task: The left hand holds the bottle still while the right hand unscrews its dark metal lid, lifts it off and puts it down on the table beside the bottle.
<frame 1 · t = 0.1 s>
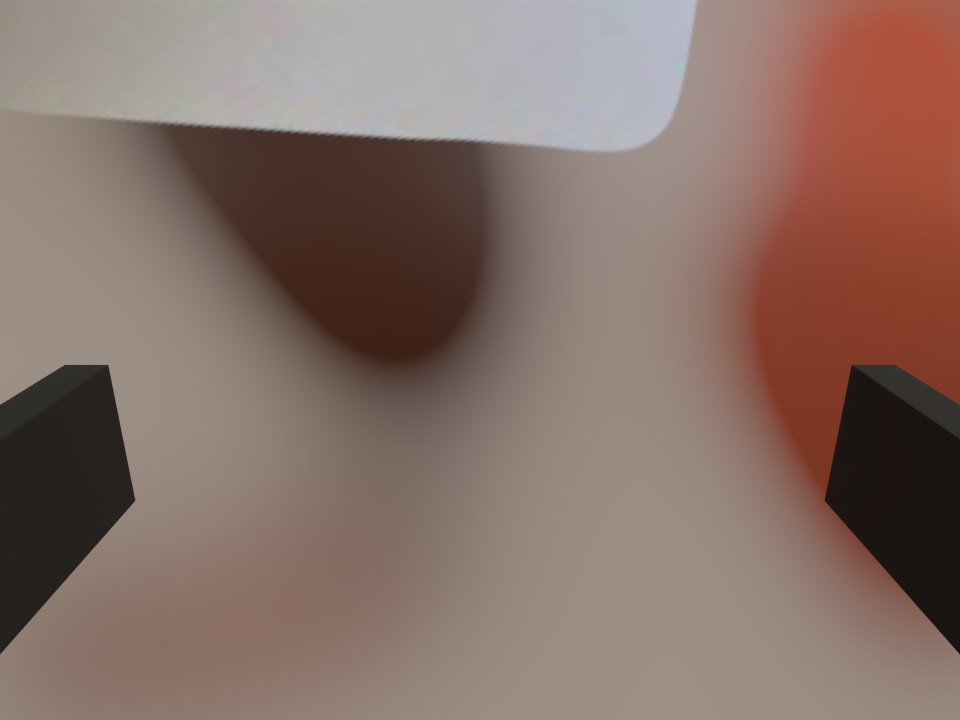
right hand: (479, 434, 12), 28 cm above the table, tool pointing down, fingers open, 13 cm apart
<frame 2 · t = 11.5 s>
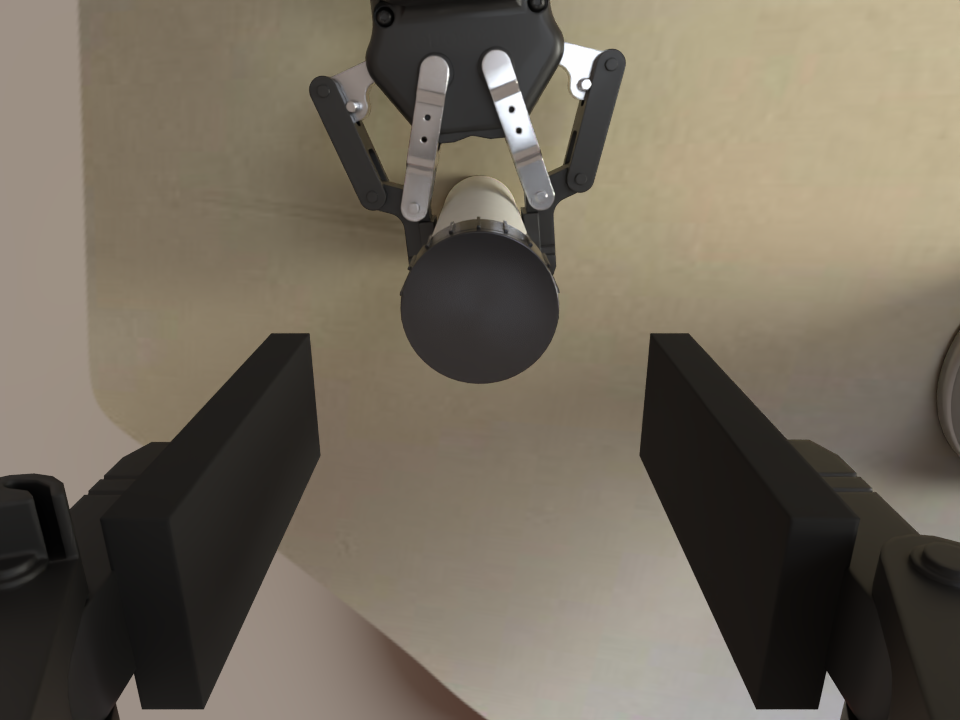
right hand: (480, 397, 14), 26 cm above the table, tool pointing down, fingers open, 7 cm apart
left hand: (485, 289, 33), fingers closed on bottle, 4 cm apart
lid: (479, 307, 20), point 19 cm above the table, screwed on, not yet turned
bottle: (480, 213, 38), on the table, touching left hand
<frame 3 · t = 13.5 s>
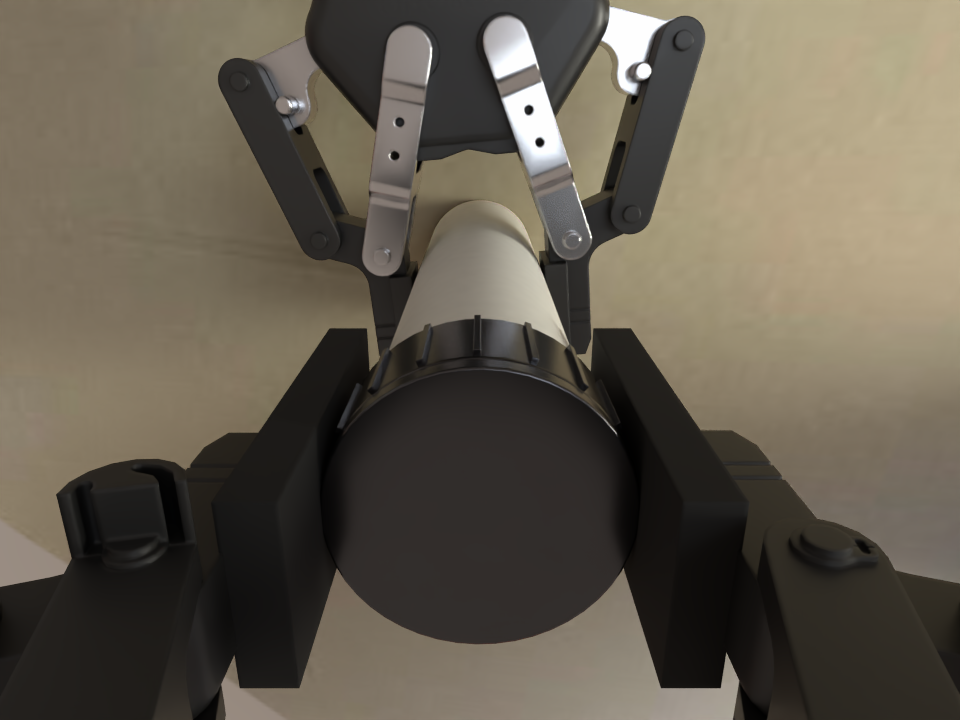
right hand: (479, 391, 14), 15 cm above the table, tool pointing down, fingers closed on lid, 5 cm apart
left hand: (488, 368, 23), fingers closed on bottle, 4 cm apart
lid: (480, 504, 10), point 19 cm above the table, screwed on, not yet turned, touching right hand
bottle: (480, 250, 28), on the table, touching left hand
when the right hand's fingers open (15 cm above the table, at t = 14.9 s): lid stays where it is, point 20 cm above the table.
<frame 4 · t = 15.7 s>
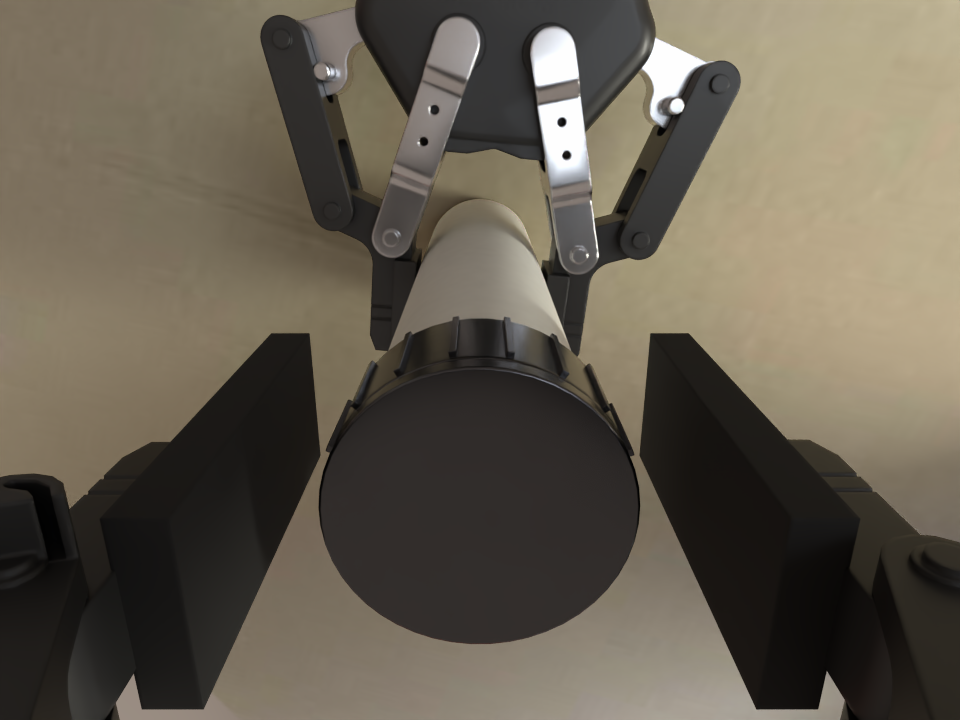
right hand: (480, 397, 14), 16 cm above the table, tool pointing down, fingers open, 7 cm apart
left hand: (473, 365, 23), fingers closed on bottle, 4 cm apart
lid: (479, 504, 10), point 20 cm above the table, turned 98° so far, risen 0.3 cm, still on its thread
bottle: (480, 248, 29), on the table, touching left hand
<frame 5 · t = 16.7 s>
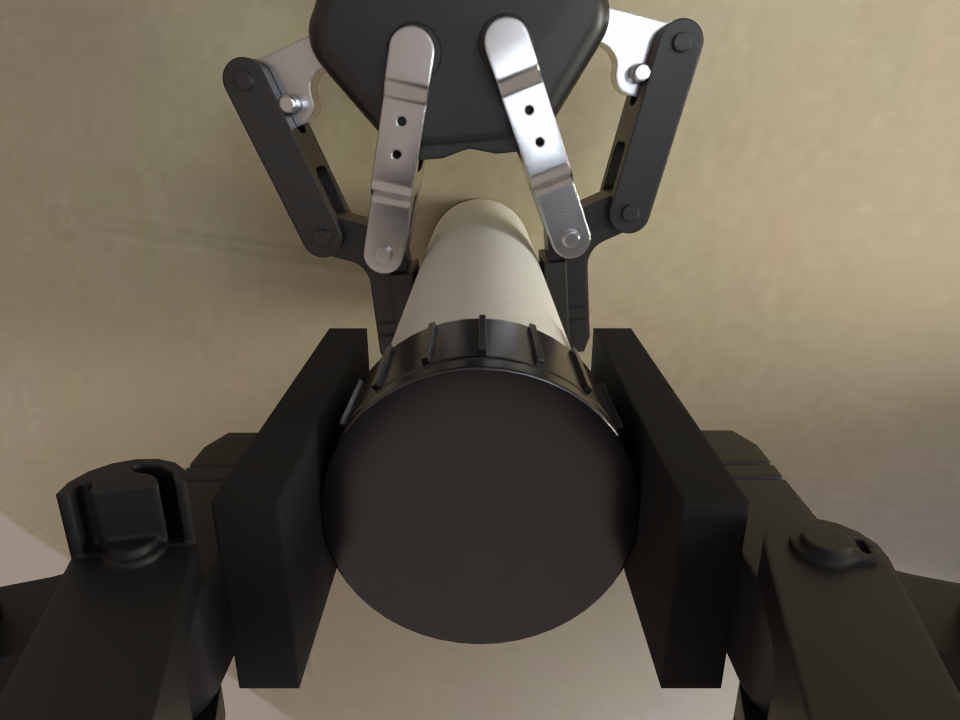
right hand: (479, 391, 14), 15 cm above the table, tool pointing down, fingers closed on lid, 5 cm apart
left hand: (487, 365, 23), fingers closed on bottle, 4 cm apart
lid: (480, 504, 10), point 20 cm above the table, turned 98° so far, risen 0.3 cm, still on its thread, touching right hand
bottle: (480, 248, 29), on the table, touching left hand
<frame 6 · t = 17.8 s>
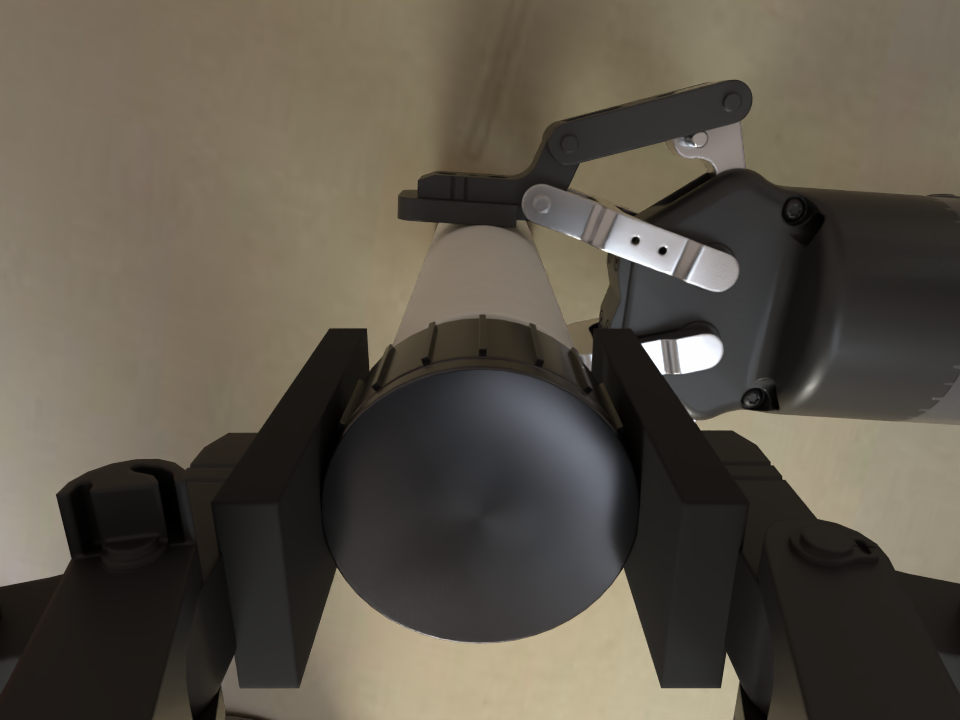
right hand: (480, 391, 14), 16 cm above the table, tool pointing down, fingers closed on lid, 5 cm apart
left hand: (400, 277, 23), fingers closed on bottle, 4 cm apart
lid: (480, 503, 10), point 20 cm above the table, off its thread, touching right hand
bottle: (482, 244, 29), on the table, touching left hand
when the right hand's fingers open (0 cm above the table, at t = 23.9 s): lid drops 3 cm, point 2 cm above the table.
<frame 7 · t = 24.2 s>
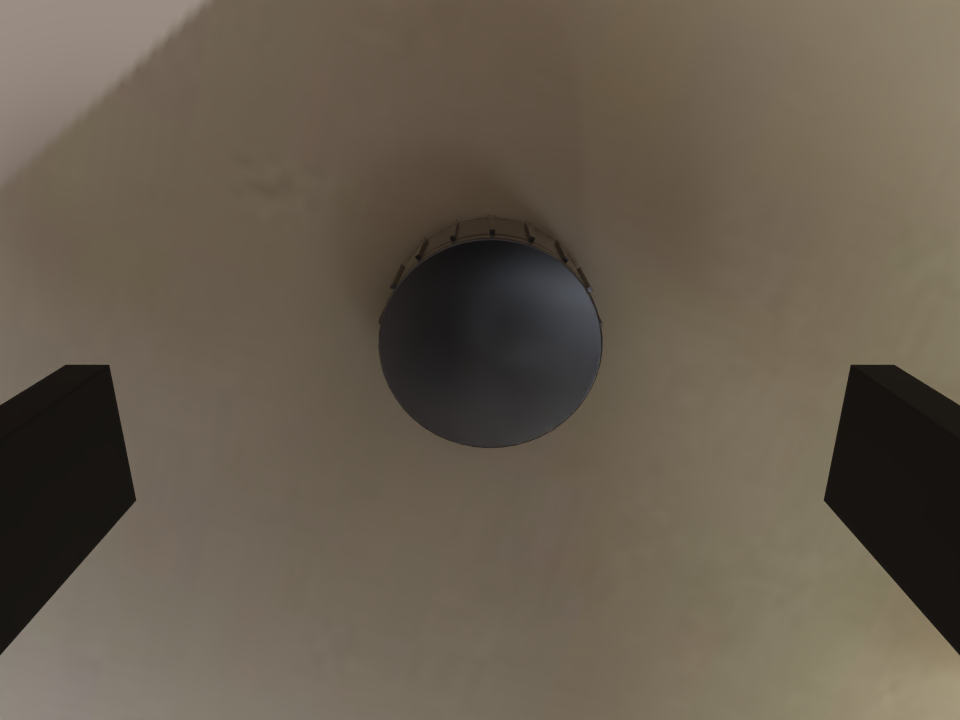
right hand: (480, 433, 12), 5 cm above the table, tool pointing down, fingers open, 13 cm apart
lid: (490, 343, 14), point 2 cm above the table, off its thread
when the left hand's fingers open (7 cm above the table, at t = 24.4 s): bottle stays where it is, on the table.
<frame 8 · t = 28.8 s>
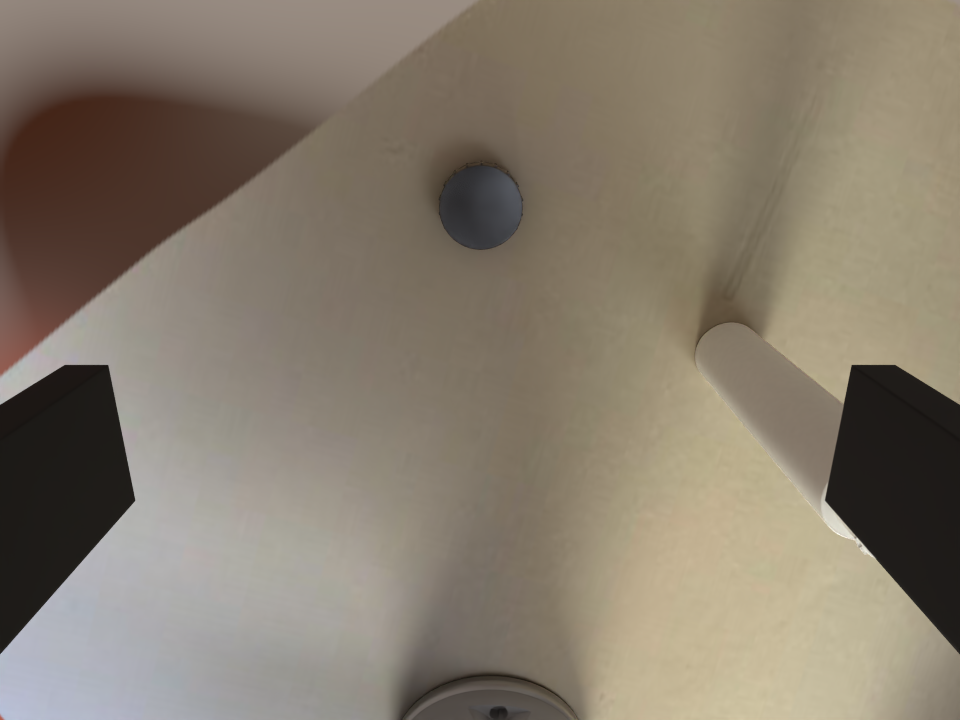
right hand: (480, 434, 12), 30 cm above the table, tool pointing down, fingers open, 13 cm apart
lid: (480, 207, 38), point 2 cm above the table, off its thread
bottle: (727, 353, 43), on the table
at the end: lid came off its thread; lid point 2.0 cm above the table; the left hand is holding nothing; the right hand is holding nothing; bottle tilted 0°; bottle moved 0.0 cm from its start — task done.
